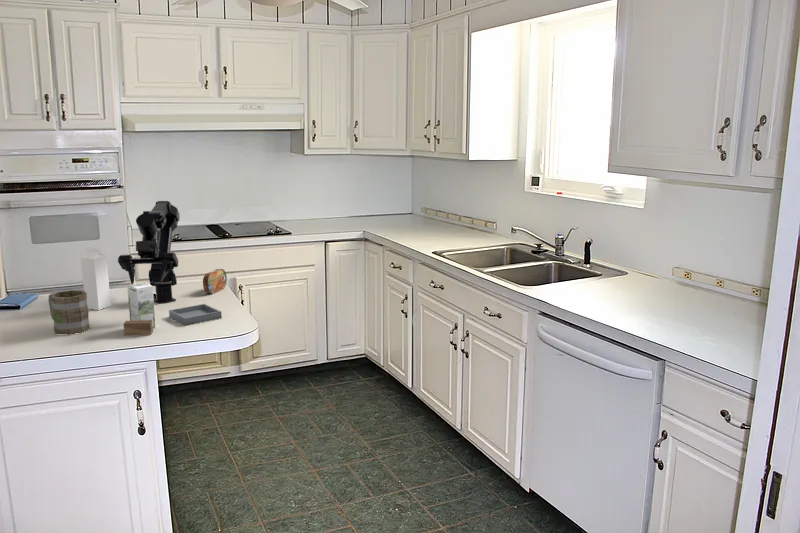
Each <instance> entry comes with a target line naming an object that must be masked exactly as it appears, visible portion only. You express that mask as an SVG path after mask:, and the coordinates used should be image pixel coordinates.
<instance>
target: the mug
mask: <svg viewBox="0 0 800 533" xmlns="http://www.w3.org/2000/svg"><path fill="white" fill-rule="evenodd" d="M48 304H49V312H50V313H49V314H50V317H51V320H53V332H54V331H55V332H54V334H55V335H56V334H69V335H68V336H71V335H70V334H73V335H76V334H75V333H79V334H82V332H83V333H85V332H87V331H89V330H91V327H90V326H91V325H90V322H89V321H90V320H89V309H88V307H87V293H86V292H85V291H84V290H80V289H79V290H76V289H70V290H64V291H57V292H53V293H51V294H49V295H48ZM88 329H89V330H88ZM84 331H85V332H84Z"/></svg>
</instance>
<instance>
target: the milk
mask: <svg viewBox="0 0 800 533" xmlns="http://www.w3.org/2000/svg"><path fill="white" fill-rule="evenodd" d="M85 249H86V252H85V253H83V255H82V256H81V257H80V263H81V273H82V281H83V282H82V284H83V291H85V292H86V293H87V307H88V310H91V309H94V310H93V311H101V309H102V310H103V308H105V309H107V308H106V307H108V308H110V307H111V305H112V304H111V293H110V292H111V291H110V281H109V280H110V279H109V272H108V271H109V269H108V260H107V259H108V258H107V255H105V254H104V253H102V252H101V251H100V250H101V249H100V248H97V247H86V248H85ZM109 306H110V307H109Z"/></svg>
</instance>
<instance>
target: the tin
mask: <svg viewBox="0 0 800 533" xmlns="http://www.w3.org/2000/svg"><path fill="white" fill-rule="evenodd" d="M227 279H228V278H227V274H226V271H225V270H224V269H223V268H215V269H213V270H211V271H209V272H207V273H205V274H204V276H203V278H202V286H203V291H204V292H205V293H206V294H211V295H212V294H213V295H214V294H216V293H218V292H220V291H222V290H224V289H225V288H226V286H227V281H228V280H227Z"/></svg>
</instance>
